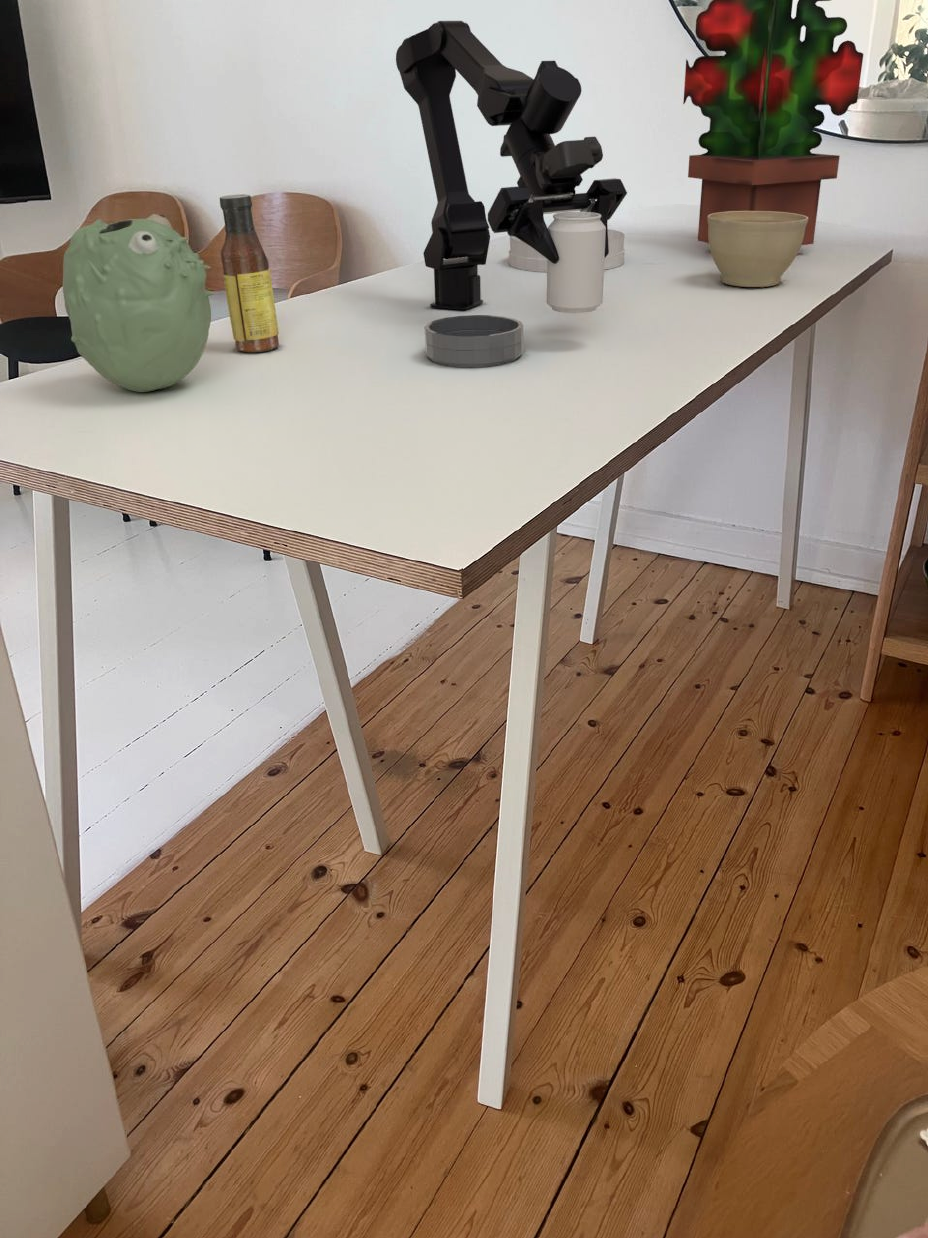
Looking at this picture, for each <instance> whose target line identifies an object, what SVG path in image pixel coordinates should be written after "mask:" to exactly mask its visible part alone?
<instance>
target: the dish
mask: <svg viewBox="0 0 928 1238" xmlns="http://www.w3.org/2000/svg"><path fill="white" fill-rule="evenodd" d="M608 246H609V253H608V255H607V256H606V258H605V259H604V271H606V270H612V269H615V268H618V267H619V268H620V267H621V266H623V265H624V264H625V254H626V253H625V252H626V249H625V247H624V246H625V233H623V232H622V231H619V230H615V229H608ZM508 264H509V266H510V267H512V268H514V269H517V270H523V271H527V272H537V273H547V258H545V257H544V256H543V255H541V254H540V253H539V252H537V251H536V250H535V249H533V248H532V247H531V246H529V245H527V244H526V243H524V242H523V241H521V240H520V239H518V238H516V237H515V236H509V251H508Z"/></svg>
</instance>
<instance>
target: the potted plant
mask: <svg viewBox="0 0 928 1238" xmlns="http://www.w3.org/2000/svg"><path fill="white" fill-rule="evenodd" d="M793 1H794V0H711V1H710V2H709V3H708V6H707V9H705V10H704V11H701V12H700V13H698V15H697V17H696V20H695V36H696V38H697V39H699V40H700V41H703V42H704V44H705V47H706V49H707V50H708V51H710V52H724V54H723V55H701V56H699V57H697V58H695V60H694V62H693V65H692V66H690V63H689V60H688V59H687V58H685V71H684V86H683V87H684V88H683V102H682V104H683V105H685V103H686V101H687V99H688V98H689V97H690V100H691V101H690V102H691V104H692V105H693V106H695V107H698V108H700V112H701V115H702V116H704V117H705V118H708V119H709V130H708V131H706V132H703V133H701V135H700V136H699V138H698V145H699V146H700V148H702V149H704V150H707V151H706V152H704V153H701V154H691V155H689V157H688V169H687V171H688V173H687V178H689V179H690V178H691V179H696V180H697V179H698V180H701V189H700V203H699V216H698V231H697V242H700V243H706V244H709V240H708V215H709V214H713V213H718V212H728V211H774V212H787V213H794V214H800V215H804V216H807V217H808V222H807V225H806V227H805V233H804V237H803V241H802V244H801V246H809V245H814V241H815V234H816V227H817V226H816V225H817V217H818V211H819V210H818V209H819V202H820V201H819V200H820V192H821V183H822V181H823V180H835V179H836V180H837V179H838V172H839V166H840V165H839V164H840V158H841V157H840V155H838V154H826V153H825V154H824V153H813V152H811V150H813V149H817V148H818V147H819V146H820V145H821V144H822V142H823V138H822V135H821V134H820V132H818V131H815V130H814V128H817V127H820V126H821V125H822V124H823V123H824V122H825V119H826V117H825V113H824V112H823V111H822V110H820V109H817V108H816V107H817V106H829V107H830V112H831V113H832V115H834V116H837V117H840V116H843V115H844V114H846V113H847V111H848V110H849V107H850V106H851V105H855V104H857V103H858V98H859V91H860V85H861V84H860V83H861V75H862V68H863V62H864V61H863V60H864V53H863V52H861V51H859V50H857V46H856V44H855V42H853V40H845V41H842V42H841V43H840V44H839V45H838V48H837V50H836V51H834V45H835V44H834V43H835V39H836V38H837V37H839V36H842V35H843V34H845V32H846V31H847V29H848V22H847V20H846V19H845V18H844V17H841V16H832V17H828V16H827V14H826V11H825V9H824V7H822V6H820V5H817V3H818V2H830V1H831V0H798V1H797V3H796V11H795V16H794V17H792V14H793V13H792V11H793V3H794V2H793ZM803 27H804V28H805V31H804V39H803V40H801V36H802V35H801V33H802V28H803Z"/></svg>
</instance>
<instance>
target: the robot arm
mask: <svg viewBox="0 0 928 1238" xmlns="http://www.w3.org/2000/svg"><path fill="white" fill-rule="evenodd" d="M395 65H396V68H397V70H398V72H399V75H400V78H401V83H402V86H403V88H404V91H406V93H407V94H408V95H409V96H410V98H411V99H412V100H413V101H414V102H415V104H417V106H418V111H419V116H420V119H421V125H422V126H421V127H422V130H423V136H424V141H425V145H426V150H427V156H428V161H429V165H430V171H431V176H432V180H433V185H434V190H435V195H436V201H437V203H436V206H435V210H434V214H433V216H432V219H431V224H430V225H431V231H432V233H431V236H430V237H429V240H428V242H427V243H426V246H425V248H424V250H423V260H424V265H425V267H427V268H430V269H433V283H434V302H432V303H430V304H429V307H430V308H432V309H433V308H435V309H445V310H447V309H448V310H459V311H467V310H469V309H472V308H475V307H476V306H479V305H481V304H483V303H484V300H483V299H482V296H481V290H482V289H481V288H482V287H481V276H480V274H479V271H478V270H479V269H478V266H480V265H481V266H485V265H486V264H487V260H488V254H489V249H490V248H489V246H490V242H491V241H490V240H491V233H490V229H491V231H492V232H493V233H494V234H498V233H507V235H508V236H509V237H510V236H515V237H516V238H518V239H520V240H521V241H523V242H524V243H526V244H527V245H529V246H531V247H532V248H533V249H535V250H536V251H537V252H539V253H540V254H541V255H543V256H544V257H545V258H547V259H548V260H549V261H551V262H552V263H553V264H556V263H557V262H558V260H559V256H558V252H557V249H556V246H555V244H554V242H553V240H552V237H551V235H550V233H549V230H548V226H547V224H546V221H545V218H544V215H549V214H550V215H551V214H557V213H563V212H593V213H598V214H601V218H600V220H601V222H602V223H603V224H604V225H605V227H606V235H605V258H606V256H607V255H608V253H609V246H608V228H609V227H608V221H609V220H610V219H611V218H613V216H614V214H615V212H616V211H617V210H618V208H619V206H620V205H621V203H622V202H623V201H624V199H625V197H626V196H627V194H628V191H627V189H626V187H625V185H624V183H623V181H622V180H621V178H603V179H594V180H593V181H592V183H591V185H590V186H589V187H588V190H587V191H586V192H581V193H577V191H576V188H577V187H580V186H581V184H582V182H583V177H582V174H584V173H585V172H586V171H588V170H589V169H593V168H594V167H595V166H596V165H598V164H599V163H600V162H602V160H603V158H604V157H603V156H604V153H603V147H602V144H601V143H600V142H599V140H598V138H597V137H596V136H585V137H583V139H574V140H573V139H572V140H565V141H564V140H563V141H561V142H558V143H557V144H555V142H554V140H553V138H552V136H551V135H554V134H557V133H559V132H561V130H563V127H564V126H565V123H567V120H568V119H569V117H570V115H571V112H572V111H573V110H574V107H575V106H576V104H577V102H578V100H579V99H580V97H581V94H582V84H581V82H580V80H579V79H578V78H577V77H575V75H573V74H572V73H571V72H570V71H569V70H566V69H565V68H562V67H560V66H558V63H557V62H556V60H541V61H540V63H539V66H538V68H537V71H536V74H535V76H534V78H533V77H531V76H529V75H527V74H526V73H525V72H523V71H520V70H517V69H514V68H510V67H507V66H505V65H503V63H501V62H500V60H499V59H498V58H497V57H496V56H495V55H494V54H493V53H492V52H491V51H490V50H489V49H488V48H487V47H486V45H484V44H483V42H482V41H481V40H480V39H479V38H477V36H476V35H475V34H474V33H473V32H472V31H471V27H470V25H469V24H468V23H467V22H464V21H463V20H439V21H436V22H434V23H432V24H431V25H430V26H429V27H428V28H427V29H424V30H421V31H420V32H417V33H415V34H413V35H411V36H408V37H406V38H404V39H403V41H402V43H401V44H400V45H399V47H398V48H397V49H396V53H395ZM457 73H458V74H459V75H460V76H461V77H462V78H463V79H464V80H465V81H466V82H467V84H468V85H469V86H470V87H471V88H472V89H473V91H475V93H476V95H477V102H476V107H477V108H478V110H479V112H480V113H481V115H482V116H483V119H484V120H485V122H486V123H487V124H488V125H489V126H492V127H498V126H499V127H500V126H501V127H502V126H508V128H507V131H506V132H505V134H504V135H503V139H502V143H501V146H500V148H499V149H500V151H499V156H500V157H502V158H505V157H511V158H512V160H513V162H514V164H515V167H516V169H517V171H518V174H519V178H518V180H517V182H516V184H517V186H506V187H501V188H500V189H499V191H498V193H497V195H496V197H495V199H494V201H493V203H492V205H491V206H490V208H489V211H488V212H487V213H486V207H485V205H484V203H483V202H482V200H479V201H476V200H474V198H473V197H472V195H470V193H469V188H468V183H467V179H466V174H465V168H464V162H463V157H462V153H461V149H460V148H461V147H460V143H459V138H458V132H457V127H456V123H455V116H454V113H453V105H452V103H451V93H452V90H453V86H454V84H455V81H456V78H457ZM486 214H487V215H486Z"/></svg>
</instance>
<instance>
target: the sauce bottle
mask: <svg viewBox="0 0 928 1238" xmlns="http://www.w3.org/2000/svg"><path fill="white" fill-rule="evenodd" d="M219 206H220V208H221V209H220V210H222V214H223V215H222V216H223V221H224V222H223V223H224V231H225V237H224V242H223V244H222V247H221V250H220V259H221V265H222V270H223V273H222V276H223V282H224V288H225V294H226V295H225V296H226V299H227V300H226V302H227V307H228V313H229V320H230V325H231V332H232V339H233V340H234V342H235V343H234V344H235V349H236V350H237V351H238V352H243V353H263V352H269V351H272V350H275V349H276V348H278V347H279V346H280V342H279V333H280V332H279V331H280V330H279V325H278V317H277V311H276V304H275V299H274V290H273V283H272V276H271V269H270V263H269V259H268V257H267V255H266V253H265V251H264V248H263V246H262V243H261V241H260V239H259V236H258V234H257V232H256V229H255V224H254V220H253V211H252V207H253V202H252V195H250V194H244V193H242V194H229V195H228V194H227V195H223V196H219Z"/></svg>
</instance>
